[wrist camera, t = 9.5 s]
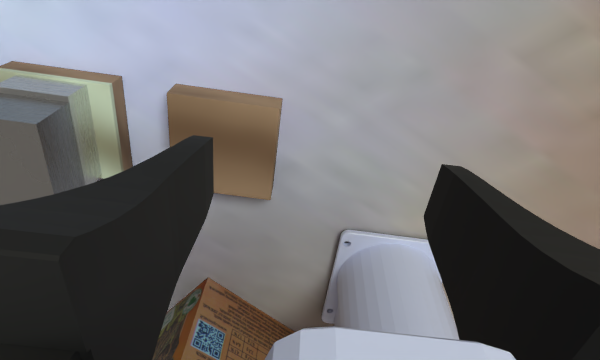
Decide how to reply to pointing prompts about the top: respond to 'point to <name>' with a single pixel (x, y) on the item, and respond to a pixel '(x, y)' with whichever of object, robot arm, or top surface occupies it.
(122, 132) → the stand
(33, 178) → the block
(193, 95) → the stand
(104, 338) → the robot arm
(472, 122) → the top surface
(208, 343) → the orange food box
